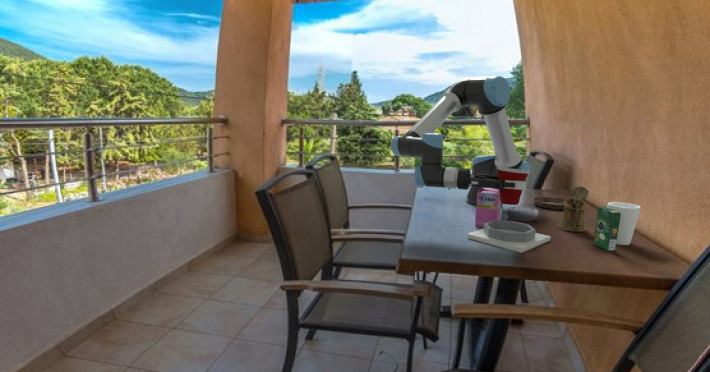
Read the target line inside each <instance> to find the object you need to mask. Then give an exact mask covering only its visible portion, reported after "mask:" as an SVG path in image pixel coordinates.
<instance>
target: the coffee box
mask: <svg viewBox="0 0 710 372" xmlns="http://www.w3.org/2000/svg"><path fill="white" fill-rule="evenodd" d="M620 217H621V213H620V212H617V211H615V210H612V209H610V208H607V206H598V207H597V213H596V222H595V229H594V237H593V245H595V246H596V247H599V248H601V249H602V250H604V251H606V252H611V253H612V252H616V248H617V247H616V246H617V244H616V242H617V236H618V229H619V223H620Z"/></svg>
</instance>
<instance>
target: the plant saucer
mask: <svg viewBox="0 0 710 372" xmlns="http://www.w3.org/2000/svg"><path fill="white" fill-rule="evenodd" d="M567 199H568V198H567ZM567 199H566V198H558V197H552V196H551V197H549V196H539V197H534V198H532V201H533V202H534V204H535V205H536V206H537V205H538V206H537V207H539V206H540V208H543V207H544V209H548V208H550V209H549V210H560V209H561V210H564V208H565V207H564V205H565V203H566V200H567ZM542 202H544V203H542ZM546 202H553V203H546ZM554 203H557V204H554ZM558 203H559V204H558Z"/></svg>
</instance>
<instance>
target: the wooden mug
mask: <svg viewBox="0 0 710 372" xmlns="http://www.w3.org/2000/svg"><path fill="white" fill-rule="evenodd" d="M589 194H590V193H589V190H588V189H587V188H585V187H584V186H577V187H575V188H572V189H571V190H570V191H569V197H570V198H567V200H566V203H565V205H564V207H565V208H564V209H563V213H562V215H561V220H560V222H559V224H558V228H559V229H560V230H562V231H566V232H570V233H571V232H572V233H584V232H586V225H585V224H586V222H585V210H586V204H585V201H584V200H585V199H587V198H588V197H589Z"/></svg>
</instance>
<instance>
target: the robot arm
mask: <svg viewBox="0 0 710 372" xmlns="http://www.w3.org/2000/svg"><path fill="white" fill-rule="evenodd" d="M510 86H511V85H510V84H509V82H508V80H507V79H506V78H505V77H504V76H500V75H489V76H474V77H473V76H471V77H470V76H469V77H464V78H462V79H461V80H458V81H457V82H455V83H453V84H452V85H451V86H449V87H448V88H447V89H446V90H445V91H444V92H443V93H442V94H441V95H440V99H439V100H438V101H437V102H436V103H434V105H432V107H431V108H430V109H429V110H428V111H427V112H426V113H425V114H424V115H423V116H422V117H421V118H420V119H419V120H418V121H417V122H416V123H415V124H414V125H413V126H412V127H411V128H410V129H408V131H407V132H406V133H405V134H403V136H402V135H396V136H395V137H393V138H392V140H391V142H390V149H391V151H392V153H393V154H394V155H395V156H401V157H405V158H406V157H408V158H416V159H417V158H418V159H421V160H420V161H421V162H420V165H419V164H418V165H416V167H415V168H414V173H413V179H414V180H413V181H414V183H415V184H416V185H417V186H422V187H423V186H424V187H430V188H443V189H445V188H446V189H447V190H448V191H449V190H450V191H451V189H457V190H463V191H464V190H465V191H466V190H468V192H467V195H466V203H468V204H470V205H471V204H472V205H474V206H477V192H478V191H479V190H480V189H481V188H482V187H487V188H495V189H501V190H502V191H504V187H505V188H506V189H518V190H523V191H527V186H528V179H529V177H530V175H531V174H530V173H531V164H530V161H527V160H523V157H522V154H521V153H519V152H517V149H516V146H515V142H514V138H513V134H512V132H511V131H512V130H511V127H510V124H509V120H508V116H507V112H506V107H508V103H509V102H510V98H511V87H510ZM464 107H476V108H477V112H478V114H479V115H481V116H483V118H484V122H485V125H486V127H487V130H488V134H489V138H490V141H491V144H492V147H493V150H494V153H495V154H487V155H486V154H484V155H476V156H474V157H473V158H472V164H471V167H472V168H471V169H470V168H468V167H467V168H463V167H461V168H458V167H453V166H446V167H445V166H443V158H444V157H443V154H444V136H443V134H442V133H439V132H436V130H437V129H439V127H441V126H442V124H443V123H444V122H446V120H447V119H448V118H450V116H452V115H453V113H456V112H458V111H460V109H461V108H464ZM497 167H502V168H511V169H518V170H524V171H529V172H530V173H529V174H528V176H527V178H526V180H525V181H509V180H505V181H504V180H498V172H497V169H496V168H497Z"/></svg>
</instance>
